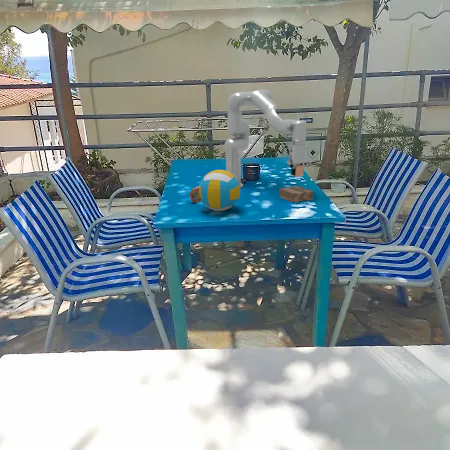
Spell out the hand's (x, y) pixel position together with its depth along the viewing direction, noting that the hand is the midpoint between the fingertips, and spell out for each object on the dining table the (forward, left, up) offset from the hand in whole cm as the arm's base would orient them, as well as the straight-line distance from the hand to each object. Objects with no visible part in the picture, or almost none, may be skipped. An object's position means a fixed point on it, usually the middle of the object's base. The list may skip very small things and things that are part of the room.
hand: (297, 174), depth 240 cm
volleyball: (-50, 0, -15) cm, 52 cm away
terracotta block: (0, 0, -1) cm, 1 cm away
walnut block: (0, 0, -15) cm, 15 cm away
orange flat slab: (-53, +22, -15) cm, 59 cm away
